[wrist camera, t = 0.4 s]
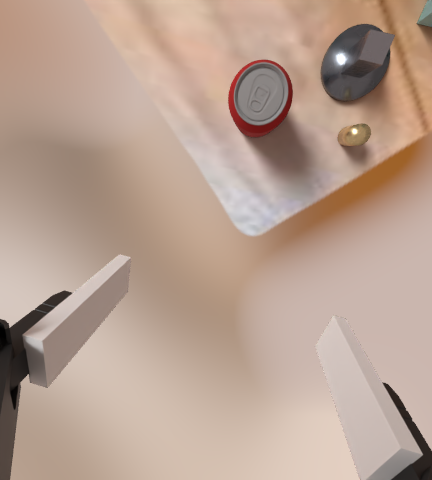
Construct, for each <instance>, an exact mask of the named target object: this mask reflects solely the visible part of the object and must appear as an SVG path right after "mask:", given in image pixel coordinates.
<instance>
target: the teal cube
mask: <svg viewBox="0 0 432 480" xmlns="http://www.w3.org/2000/svg"><path fill="white" fill-rule="evenodd" d="M417 24H421V25H425V26H430V27H432V0H427V3H426V5H425V7H424V9H423V11H422V14H421V16H420V18H419V20H418V22H417Z"/></svg>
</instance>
